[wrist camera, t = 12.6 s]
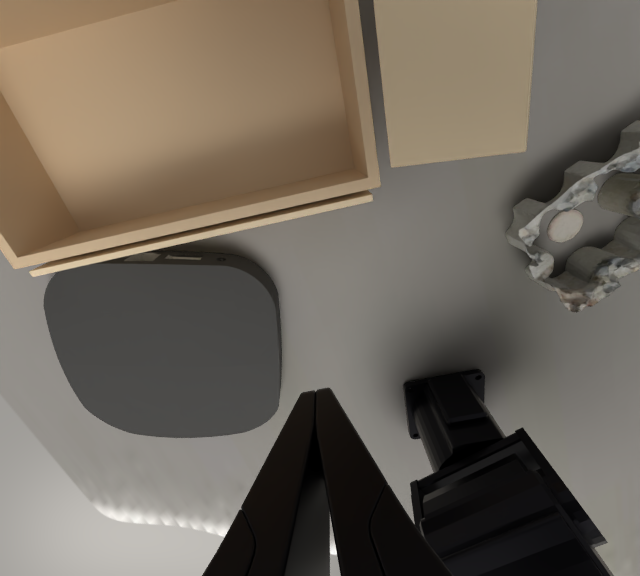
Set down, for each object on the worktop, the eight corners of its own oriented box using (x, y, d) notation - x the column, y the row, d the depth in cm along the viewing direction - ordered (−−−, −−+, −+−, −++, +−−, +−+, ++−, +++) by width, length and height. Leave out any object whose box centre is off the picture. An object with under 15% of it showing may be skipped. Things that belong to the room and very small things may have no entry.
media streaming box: (110, 411, 27) (88, 442, 24) (52, 246, 20) (13, 263, 18) (283, 410, 27) (281, 440, 25) (279, 251, 21) (275, 268, 18)
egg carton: (527, 292, 23) (569, 322, 19) (487, 209, 20) (527, 226, 17) (684, 204, 20) (767, 219, 17) (663, 95, 18) (757, 85, 14)
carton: (364, 184, 19) (382, 199, 14) (86, 247, 20) (22, 280, 15) (327, -73, 14) (337, -172, 10) (-40, 28, 15) (-188, -18, 11)
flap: (360, -121, 10) (555, -285, 6) (365, -117, 10) (557, -275, 7) (390, 167, 13) (524, 151, 10) (394, 166, 13) (526, 150, 10)
